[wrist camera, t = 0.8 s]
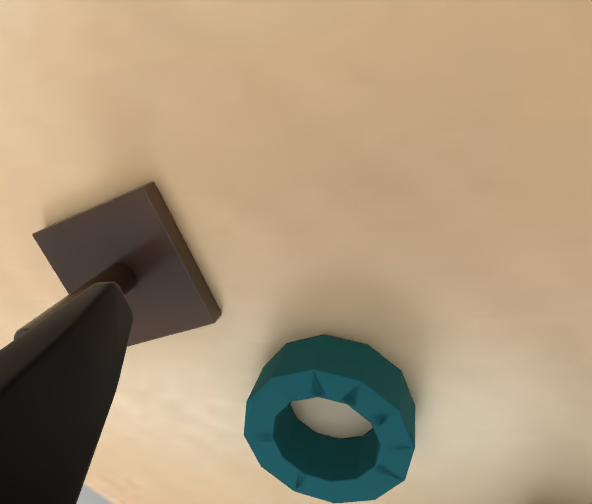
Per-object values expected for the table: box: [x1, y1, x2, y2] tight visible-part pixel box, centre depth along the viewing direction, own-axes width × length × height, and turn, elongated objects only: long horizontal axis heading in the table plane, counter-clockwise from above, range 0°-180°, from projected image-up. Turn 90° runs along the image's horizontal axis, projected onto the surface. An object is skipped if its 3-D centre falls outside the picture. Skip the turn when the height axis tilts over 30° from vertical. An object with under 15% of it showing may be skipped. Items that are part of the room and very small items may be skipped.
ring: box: [244, 335, 415, 503], centre depth 24 cm, size 9×9×3 cm
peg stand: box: [14, 182, 221, 346], centre depth 22 cm, size 8×8×8 cm
